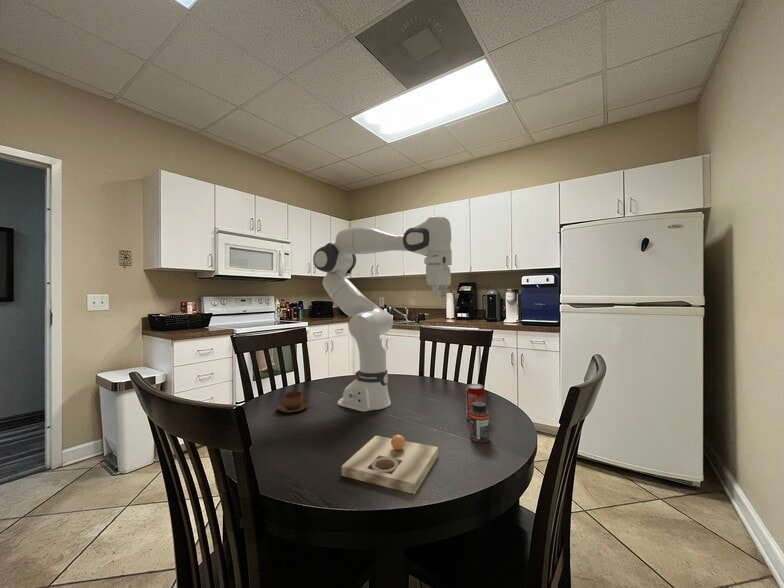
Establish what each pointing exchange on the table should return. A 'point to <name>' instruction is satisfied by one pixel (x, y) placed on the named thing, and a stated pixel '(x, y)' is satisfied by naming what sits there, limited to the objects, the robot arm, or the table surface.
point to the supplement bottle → (479, 422)
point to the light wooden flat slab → (391, 464)
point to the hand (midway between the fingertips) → (440, 297)
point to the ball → (398, 442)
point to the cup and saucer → (293, 402)
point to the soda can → (474, 396)
